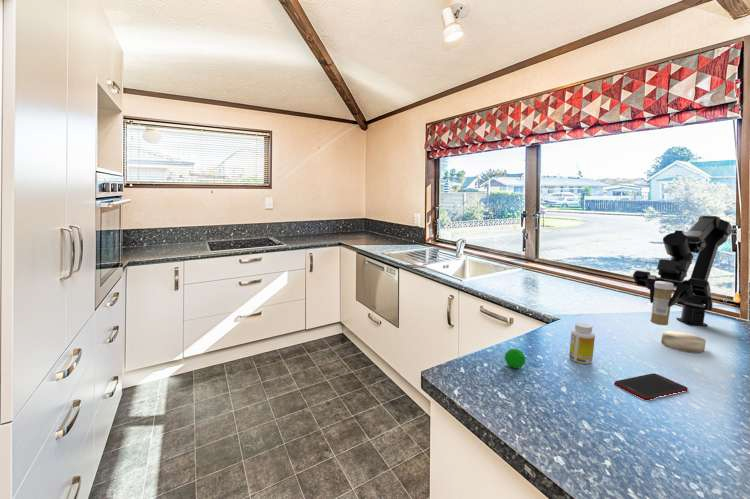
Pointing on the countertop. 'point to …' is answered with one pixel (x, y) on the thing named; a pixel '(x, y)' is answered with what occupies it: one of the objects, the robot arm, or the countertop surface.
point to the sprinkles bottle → (661, 302)
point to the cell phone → (650, 386)
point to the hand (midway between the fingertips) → (660, 304)
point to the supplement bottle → (582, 343)
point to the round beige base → (683, 341)
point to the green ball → (515, 358)
